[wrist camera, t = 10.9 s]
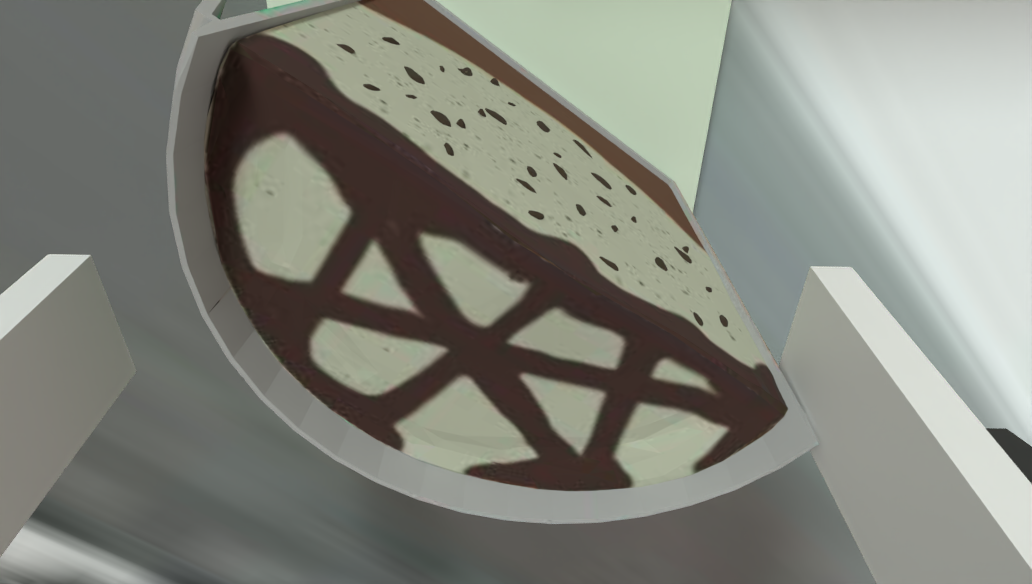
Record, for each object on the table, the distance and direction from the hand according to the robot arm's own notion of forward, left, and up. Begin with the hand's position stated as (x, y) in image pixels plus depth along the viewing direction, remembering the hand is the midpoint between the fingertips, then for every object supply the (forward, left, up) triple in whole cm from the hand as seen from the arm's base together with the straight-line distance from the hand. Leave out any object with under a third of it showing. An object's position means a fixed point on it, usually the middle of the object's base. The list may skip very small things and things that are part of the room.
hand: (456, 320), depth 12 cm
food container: (0, 0, -8) cm, 8 cm away
